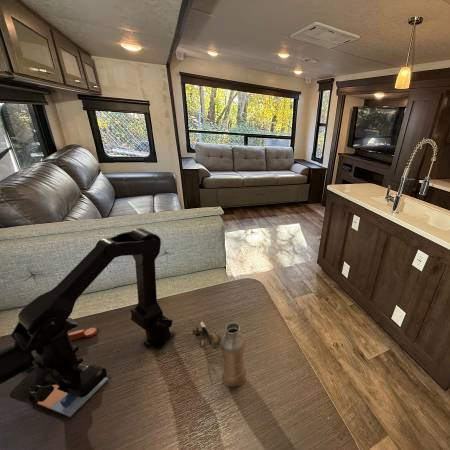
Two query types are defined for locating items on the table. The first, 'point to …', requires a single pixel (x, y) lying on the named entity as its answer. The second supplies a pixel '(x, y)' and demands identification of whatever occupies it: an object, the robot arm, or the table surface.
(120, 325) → the table surface
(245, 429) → the table surface
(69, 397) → the blue spoon
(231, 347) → the plastic bottle
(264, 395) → the table surface
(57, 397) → the mat
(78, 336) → the terracotta spoon
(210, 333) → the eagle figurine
